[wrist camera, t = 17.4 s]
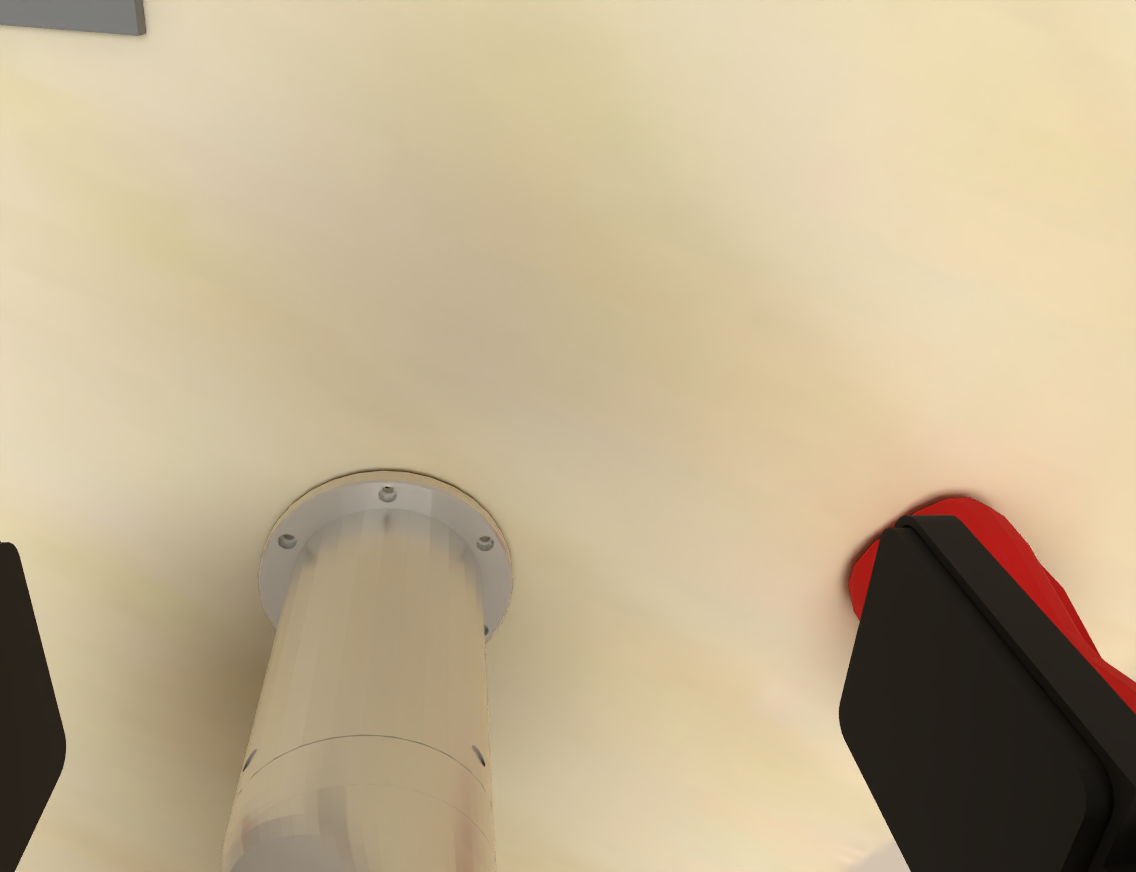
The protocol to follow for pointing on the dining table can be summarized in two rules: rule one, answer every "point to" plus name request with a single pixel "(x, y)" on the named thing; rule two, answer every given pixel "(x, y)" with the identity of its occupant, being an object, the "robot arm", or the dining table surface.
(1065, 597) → the water bottle
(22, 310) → the dining table surface
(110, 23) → the mat
